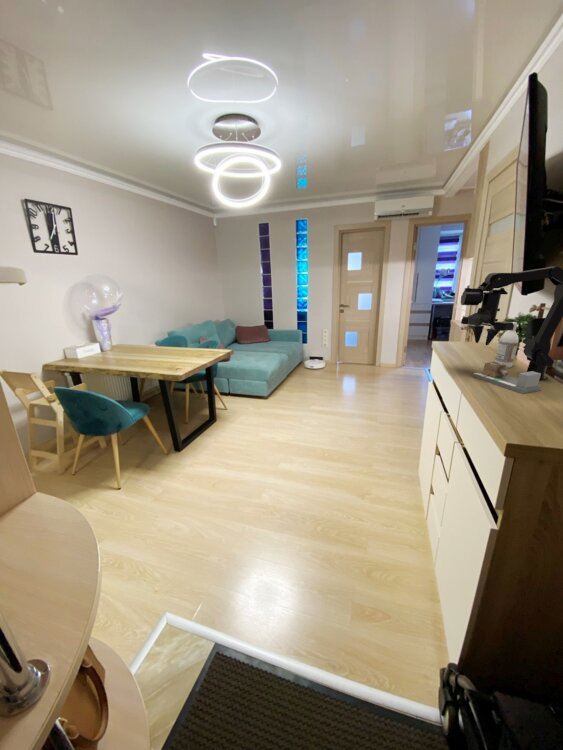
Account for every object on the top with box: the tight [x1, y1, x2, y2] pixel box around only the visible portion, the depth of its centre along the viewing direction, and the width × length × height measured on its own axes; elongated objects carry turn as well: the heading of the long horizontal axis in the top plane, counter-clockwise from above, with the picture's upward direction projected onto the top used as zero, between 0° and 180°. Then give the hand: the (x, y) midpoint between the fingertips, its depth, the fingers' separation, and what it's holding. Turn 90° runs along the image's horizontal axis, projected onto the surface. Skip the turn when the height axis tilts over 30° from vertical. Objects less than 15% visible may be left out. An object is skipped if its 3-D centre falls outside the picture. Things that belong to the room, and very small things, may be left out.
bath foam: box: [494, 321, 520, 369], centre depth 139 cm, size 7×7×20 cm
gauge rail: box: [472, 371, 542, 395], centre depth 120 cm, size 10×20×6 cm, turn 21°
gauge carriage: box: [482, 361, 509, 378], centre depth 123 cm, size 7×8×5 cm
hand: (481, 343), depth 128 cm, fingers open, 4 cm apart
